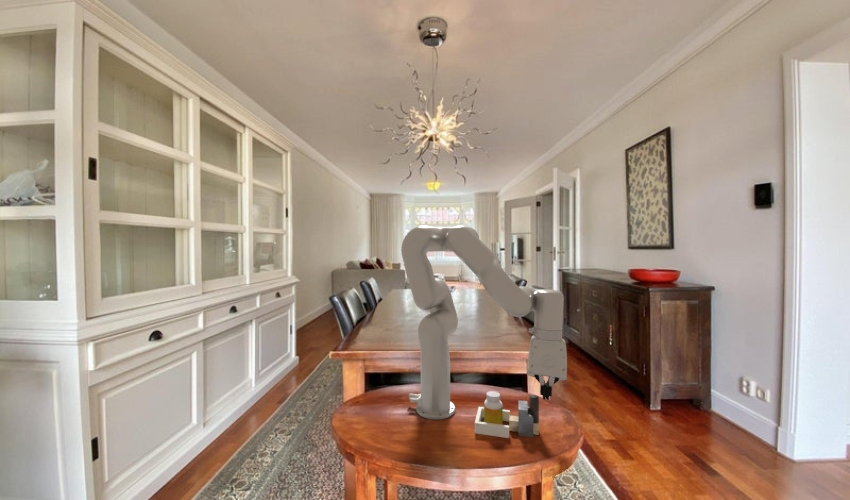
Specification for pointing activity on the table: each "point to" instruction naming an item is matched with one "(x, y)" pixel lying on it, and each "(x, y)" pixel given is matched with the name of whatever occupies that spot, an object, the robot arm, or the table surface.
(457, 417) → the table surface
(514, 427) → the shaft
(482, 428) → the frame
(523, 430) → the guide block
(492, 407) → the supplement bottle
